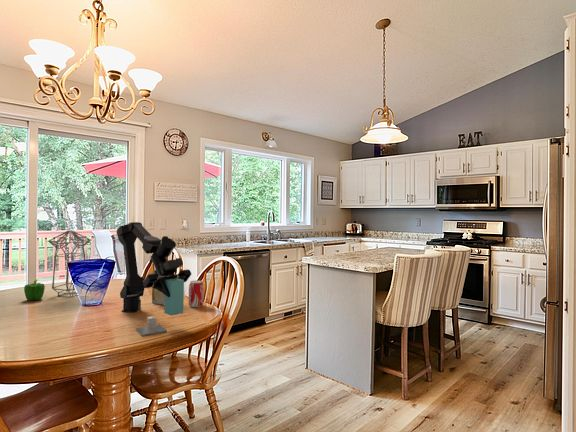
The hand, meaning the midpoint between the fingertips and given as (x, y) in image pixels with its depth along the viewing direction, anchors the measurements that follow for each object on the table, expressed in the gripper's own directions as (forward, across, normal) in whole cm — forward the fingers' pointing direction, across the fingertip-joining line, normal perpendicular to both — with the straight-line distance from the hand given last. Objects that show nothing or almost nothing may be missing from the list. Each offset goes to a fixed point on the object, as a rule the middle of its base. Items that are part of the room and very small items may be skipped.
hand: (175, 295), depth 138 cm
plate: (+6, -8, +12) cm, 16 cm away
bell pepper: (-54, -24, +73) cm, 93 cm away
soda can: (-6, +25, +25) cm, 36 cm away
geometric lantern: (-52, -10, +71) cm, 89 cm away
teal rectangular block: (+4, 0, +6) cm, 7 cm away
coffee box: (-18, +17, +37) cm, 45 cm away
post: (+6, -8, +12) cm, 16 cm away
